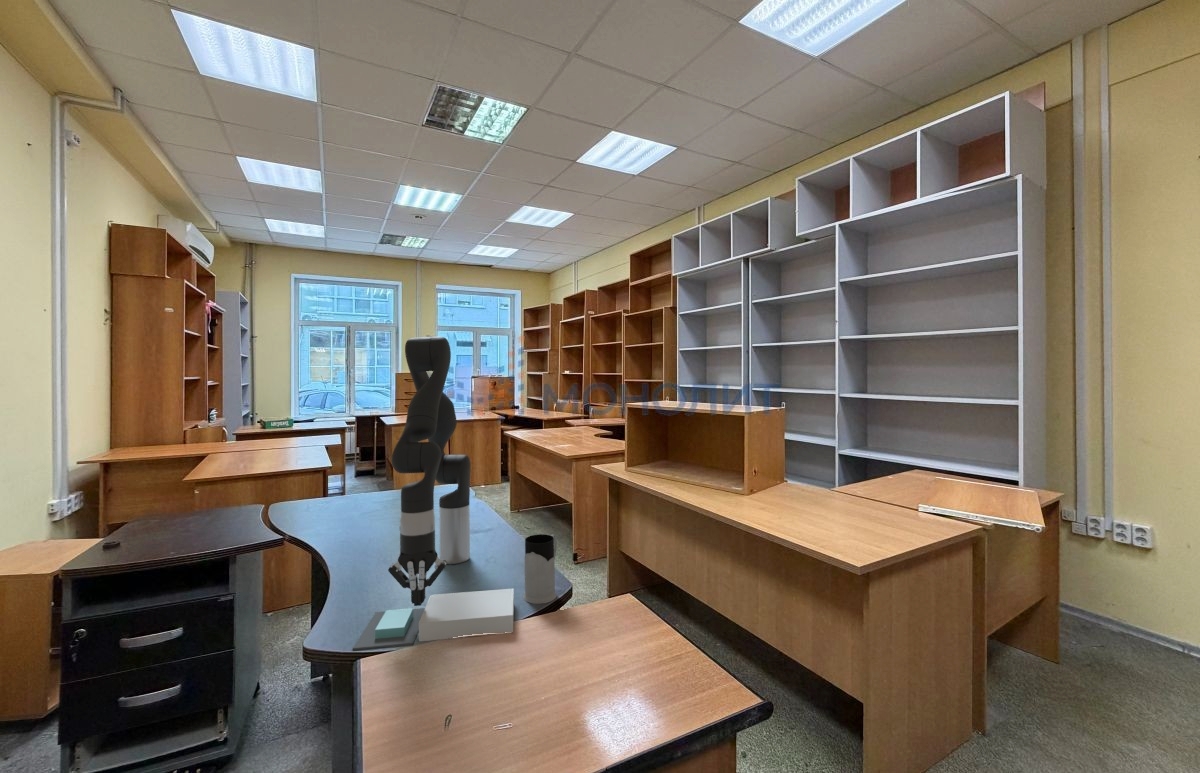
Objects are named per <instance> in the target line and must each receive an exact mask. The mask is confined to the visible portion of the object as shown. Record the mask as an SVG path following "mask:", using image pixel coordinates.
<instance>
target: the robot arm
mask: <svg viewBox="0 0 1200 773" xmlns="http://www.w3.org/2000/svg"><path fill="white" fill-rule="evenodd" d="M451 351H452V350H451V346H450V342H449V341H448V339H447V338H446V337H444V336H423V337H422V336H421V337H418V336H417V337H412V338H411V337H410V338H409V339H407V340H406V342H405V344H404V353H405V354H404V355H405V359H406V363H407V366H408V370H409V372H410V375H411V376H410V377H411V379H412V381H413V386H414V387H415V390H416V393H414V395H413V396H412V398H411V399H410V402H409V404H408V408H407V414H406V420H405V421H406V422H405V425H404V429H403V431H402V433H401V435H400V437H399V439H398V440H397V443H396V444H395V446H394V449H393V451H392V455H391V465H392V468H393V470H394V471H395V472H396V473H399V474H424V476H423V478H422V479H421V480H418V481H413V482H410V483H407V484H405V485H403V486H402V487H401V490H400V518H399V541H400V542H399V547H400V548H399V556H398V557H397V561H395V562H394V563H392V564H391V565H390V566H389V567H388V573H389V574H390V575H391V576H392V577H393V579H395V580H396V582H398V584H399V585H400V586H401V587H402V588H403V589H410V598H411V599H410V602H411V604H413V606H414V607H417V606H418V607H419V606H422V605H423V603H425V599H426V588H427V587H431V586H432V585H433V583H434V582H435V581H436V579H437V578H438V577H439V576H440V574H441V573H442V572H443V570H444V569H445V568H446V565H455V564H460V563H464V562H466V561H468V560H470V557H471V552H470V551H471V547H470V546H471V530H470V529H471V527H470V525H471V523H470V521H471V520H470V504H471V503H470V499H471V498H470V494H471V490H470V488H471V485H470V484H471V470H472V469H471V467H472V466H471V460H470V459H471V458H470V456H469V455H467V454H446V453H445V447H446V445H447V443H448V442H449V441H450V439H451V437H452V436H453V434H454V432H455V430H456V428H457V424H458V423H457V420H458V419H457V415H456V410H455V409H456V408H455V406H454V403H453V401H452V400H451V398H449V397H448V395H446V394H445V392H443V391H444V388H445V383H446V382H447V377H448V374H449V371H450V370H449V369H450V366H451V359H452V357H451V356H452V355H451V354H452V353H451ZM428 372H432V373H431V375H430V376H429V374H428ZM425 440H427V441H425ZM436 482H437V483H438V484H440V485H457V488H456V489H455V490H453V491H451V492H448V493H446V494H443V495H441V496H440V497H439V499H438V500H439V502H438V506H439V507H438V508H439V510H438V514H439V517H438V518H439V519H438V520H439V525H438V526H439V527H438V528H439V554H438V552H437V551H436V514H435V508H434V507H435V506H434V505H435V504H434V503H435V502H434V498H435V497H434V494H435V493H434V492H435V485H436V484H435V483H436ZM438 555H439V557H438ZM433 565H434V569H435V570H434V571H433V572H432V573H431V575H430V576H429V577H428V578H427V574H428V572H429V570H430V569H431V568H432V567H433ZM403 570H404V571H405V572H406V573H407V574H408V576H407V575H406V574H405V573H404V571H403Z"/></svg>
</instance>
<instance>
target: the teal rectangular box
mask: <svg viewBox="0 0 1200 773" xmlns="http://www.w3.org/2000/svg"><path fill="white" fill-rule="evenodd" d="M413 609H414V608H413V607H412V608H401V609H400V608H398V609H388V610H387V609H386V610H385V611H386V612H385V614H384V615H383V617H382V619H381V620H380V622H379V624H378V626H377V627H376V629H375V639H380V638H391V637H402V636H405V634H406V632H407V629H408V627H409V625H410V623H411V621H412V618H413Z"/></svg>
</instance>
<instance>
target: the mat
mask: <svg viewBox="0 0 1200 773" xmlns="http://www.w3.org/2000/svg"><path fill="white" fill-rule="evenodd" d="M424 610H425V607H423V608H422V607H421V608H413V618H412V621H411V623H410V625H409V627H408V629H407V632H406V634H405V636H402V637H391V638H380V639H375V629H376V627H377V626H378V624H379V622H380V620H381V619H382V617H383V615H384V614H385V612H386V610H384V611H375V612H374V614H373V615H372V617H371V619H370V620H369V622H368V624H367V625H366V627H365V628H364V629H363V631H362V633H361V635H360V636H359V638H357V641H356V642H355V644H354V646H352V651H357V650H368V649H379V648H388V647H390V648H391V647H400V646H401V647H402V646H412V645H413V644H414V643H415V640H416V638H417V635H418V634H419V621H420V619H421V616H422V614H423V612H424Z"/></svg>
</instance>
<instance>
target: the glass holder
mask: <svg viewBox="0 0 1200 773" xmlns="http://www.w3.org/2000/svg"><path fill="white" fill-rule="evenodd" d="M557 540H558V539H557V536H556V535H555V534H550V535H549V534H542V533H541V534H533V535H529V536H527V537H525V538H524V593H523V595H522V599H523V601H525V602H527V603H530V604H534V605H541V604H547V603H549V602H552V601H554V600H555V599H556V598H557V596H558V595H557V592H556V588H555V587H556V579H555V578H556V576H555V574H556V572H555V571H556V568H555V566H556V562H555V561H556V556H557V548H558V546H557V545H558V541H557Z"/></svg>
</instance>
